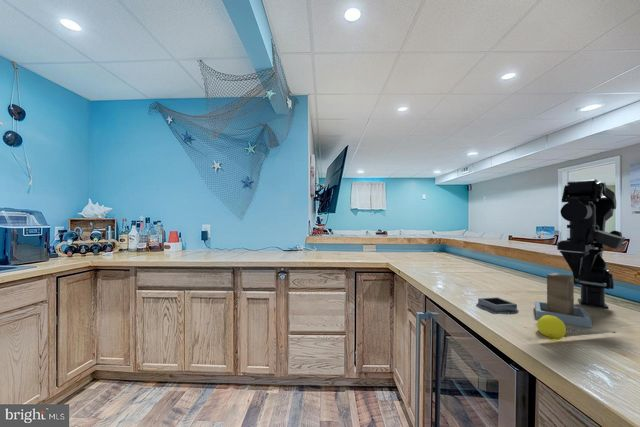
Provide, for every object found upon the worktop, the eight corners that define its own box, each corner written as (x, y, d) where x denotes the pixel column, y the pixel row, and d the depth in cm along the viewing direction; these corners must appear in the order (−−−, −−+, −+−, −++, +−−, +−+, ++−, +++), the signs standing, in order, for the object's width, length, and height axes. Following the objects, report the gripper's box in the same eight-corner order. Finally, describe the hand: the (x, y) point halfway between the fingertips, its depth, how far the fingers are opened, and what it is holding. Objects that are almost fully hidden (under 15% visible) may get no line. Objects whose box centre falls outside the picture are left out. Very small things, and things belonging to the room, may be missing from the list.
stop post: (553, 313, 81) (553, 272, 81) (573, 318, 77) (573, 275, 77) (547, 316, 78) (546, 274, 78) (567, 322, 75) (567, 277, 75)
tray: (535, 310, 85) (535, 300, 85) (583, 318, 79) (583, 307, 79) (536, 321, 76) (536, 310, 76) (591, 331, 70) (591, 319, 70)
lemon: (565, 348, 62) (564, 325, 62) (535, 340, 66) (534, 319, 66) (567, 334, 67) (567, 313, 67) (539, 328, 71) (539, 308, 71)
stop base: (498, 304, 91) (498, 295, 91) (528, 316, 80) (528, 306, 80) (468, 306, 89) (468, 297, 89) (495, 318, 79) (495, 308, 79)
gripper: (610, 222, 71) (610, 283, 71) (630, 221, 81) (630, 275, 81) (556, 221, 81) (556, 274, 81) (580, 221, 90) (580, 268, 90)
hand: (582, 273), depth 83 cm, fingers open, 9 cm apart
